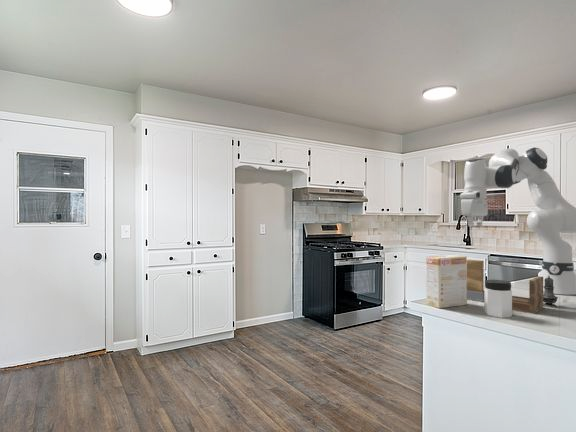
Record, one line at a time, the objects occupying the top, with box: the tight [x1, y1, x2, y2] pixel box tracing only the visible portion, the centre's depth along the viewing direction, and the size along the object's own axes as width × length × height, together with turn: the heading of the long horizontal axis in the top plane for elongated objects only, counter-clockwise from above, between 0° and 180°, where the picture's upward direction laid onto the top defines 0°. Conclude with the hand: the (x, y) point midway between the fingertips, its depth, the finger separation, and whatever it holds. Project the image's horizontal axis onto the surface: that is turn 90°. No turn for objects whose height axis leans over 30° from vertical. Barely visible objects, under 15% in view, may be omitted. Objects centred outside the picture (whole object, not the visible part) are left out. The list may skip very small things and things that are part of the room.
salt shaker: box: [543, 276, 559, 308], centre depth 145 cm, size 6×6×12 cm
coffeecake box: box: [425, 254, 468, 309], centre depth 146 cm, size 15×7×20 cm, turn 113°
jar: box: [483, 279, 513, 319], centre depth 131 cm, size 9×8×12 cm
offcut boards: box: [512, 298, 529, 304], centre depth 141 cm, size 3×10×4 cm, turn 42°
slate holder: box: [467, 290, 484, 303], centre depth 157 cm, size 8×10×4 cm
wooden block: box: [467, 259, 485, 298], centre depth 157 cm, size 2×6×16 cm, turn 42°
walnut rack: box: [512, 276, 544, 314], centre depth 142 cm, size 13×13×12 cm
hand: (475, 226), depth 161 cm, fingers open, 8 cm apart
